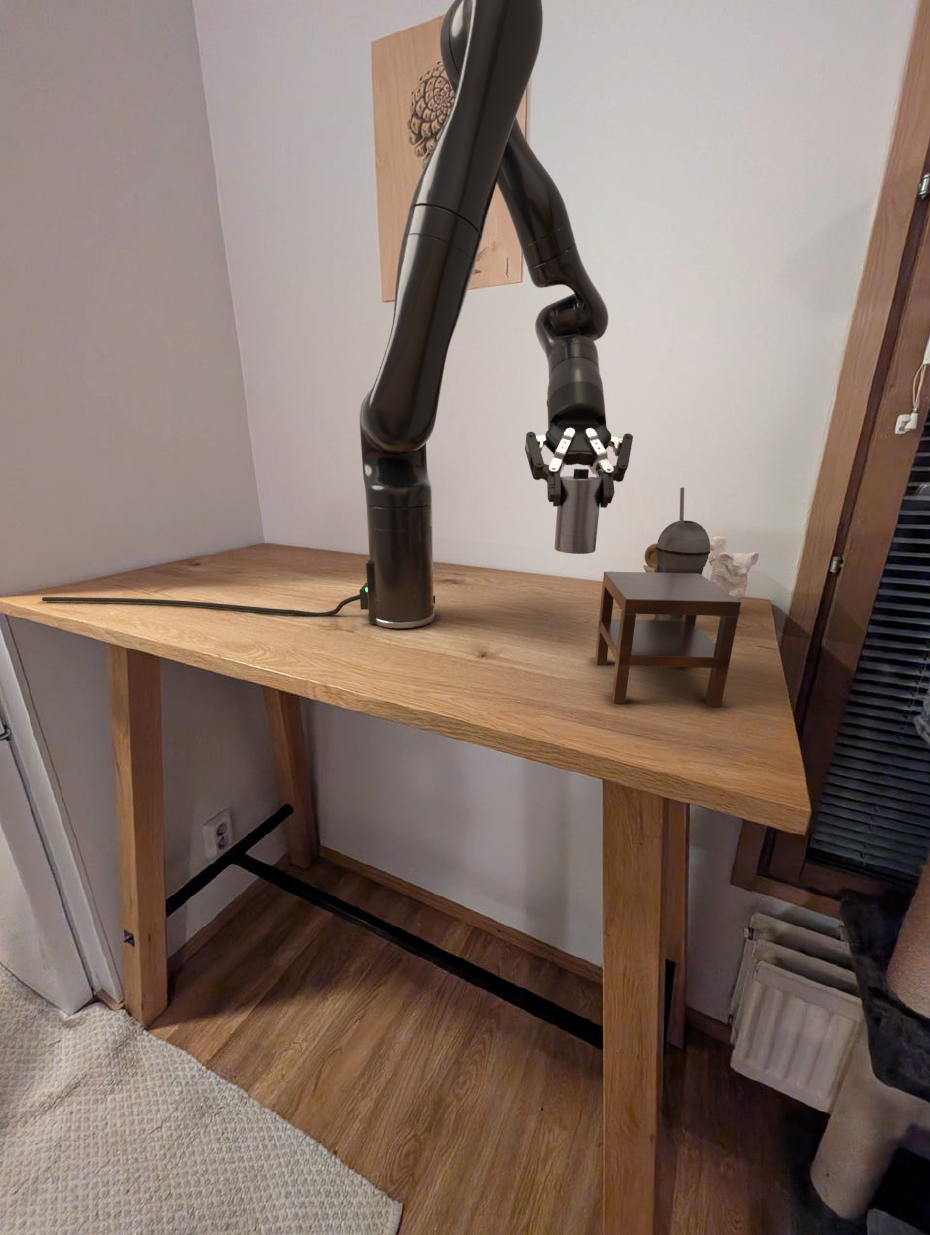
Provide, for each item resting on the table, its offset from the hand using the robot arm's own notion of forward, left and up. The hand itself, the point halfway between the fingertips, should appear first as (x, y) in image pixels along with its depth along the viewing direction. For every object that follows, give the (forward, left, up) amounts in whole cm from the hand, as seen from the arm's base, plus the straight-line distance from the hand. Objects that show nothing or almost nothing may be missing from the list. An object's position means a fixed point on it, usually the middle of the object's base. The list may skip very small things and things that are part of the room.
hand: (581, 502), depth 63 cm
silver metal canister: (0, +2, -6) cm, 7 cm away
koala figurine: (+26, +17, -19) cm, 36 cm away
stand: (+8, -10, -19) cm, 23 cm away
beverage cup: (+16, +9, -19) cm, 26 cm away
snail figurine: (+16, +18, -19) cm, 31 cm away
